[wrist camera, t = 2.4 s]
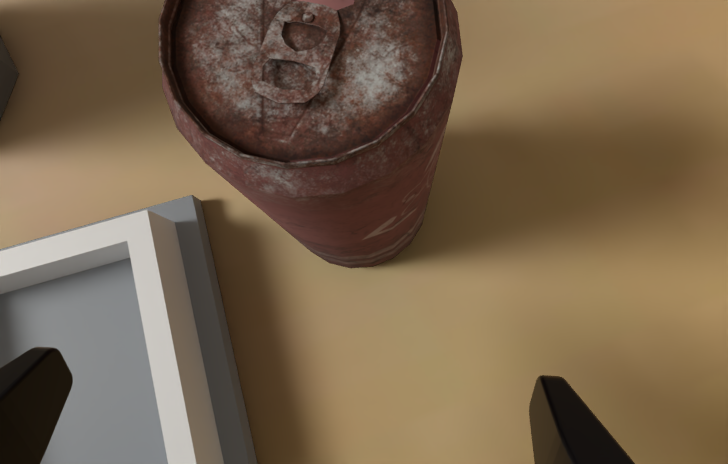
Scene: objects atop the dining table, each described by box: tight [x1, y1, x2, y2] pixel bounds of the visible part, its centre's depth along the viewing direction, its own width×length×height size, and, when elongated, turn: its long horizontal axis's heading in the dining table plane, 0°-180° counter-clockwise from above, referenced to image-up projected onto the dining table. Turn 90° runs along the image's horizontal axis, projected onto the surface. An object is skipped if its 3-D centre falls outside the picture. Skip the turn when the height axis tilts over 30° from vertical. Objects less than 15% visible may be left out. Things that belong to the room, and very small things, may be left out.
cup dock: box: [0, 195, 257, 464], centre depth 21 cm, size 13×13×4 cm
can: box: [159, 0, 463, 268], centre depth 16 cm, size 6×6×14 cm
